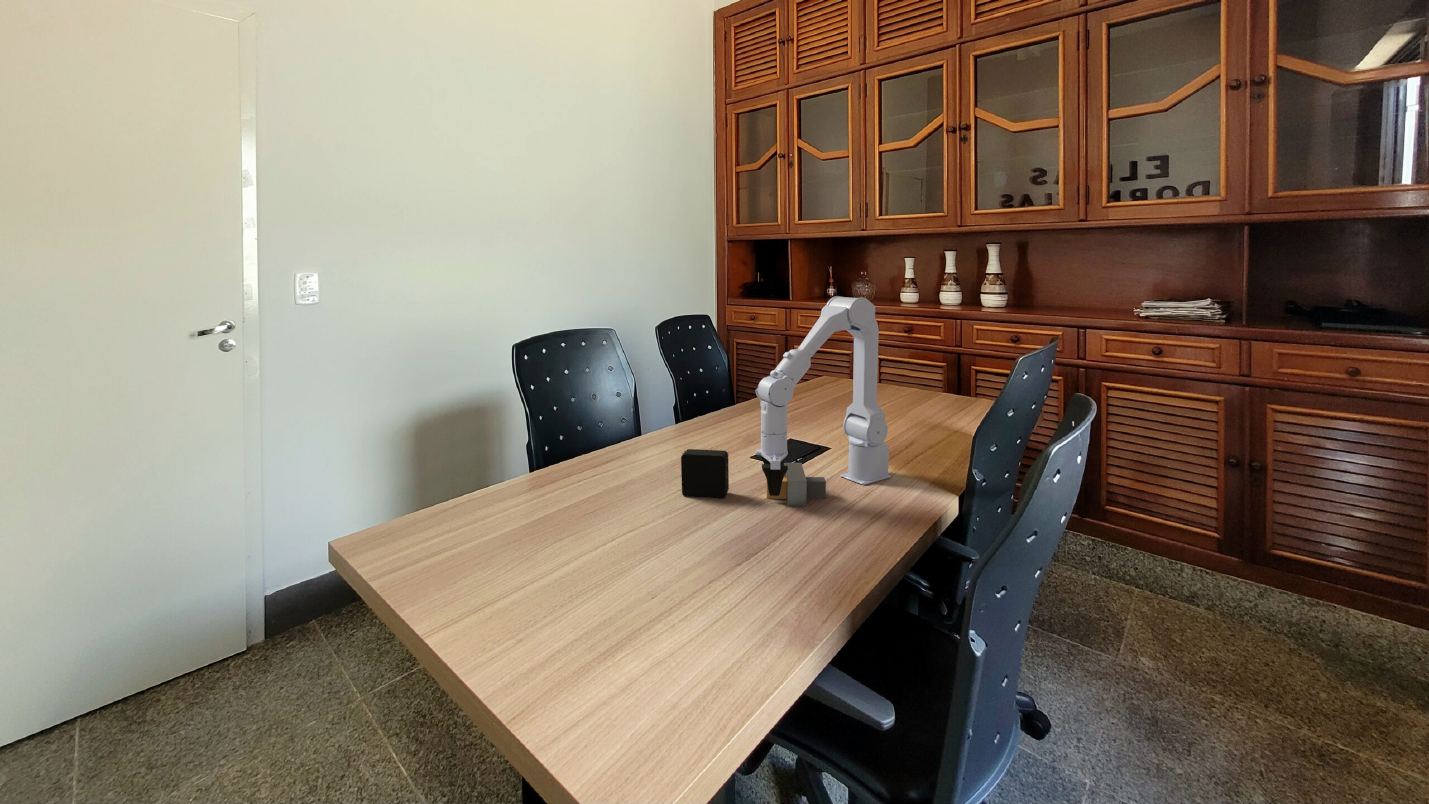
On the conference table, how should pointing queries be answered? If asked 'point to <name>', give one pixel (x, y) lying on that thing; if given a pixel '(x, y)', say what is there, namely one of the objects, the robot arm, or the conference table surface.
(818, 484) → the orange and grey bar
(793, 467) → the grey rectangular block
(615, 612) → the conference table surface
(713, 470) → the electronic device
